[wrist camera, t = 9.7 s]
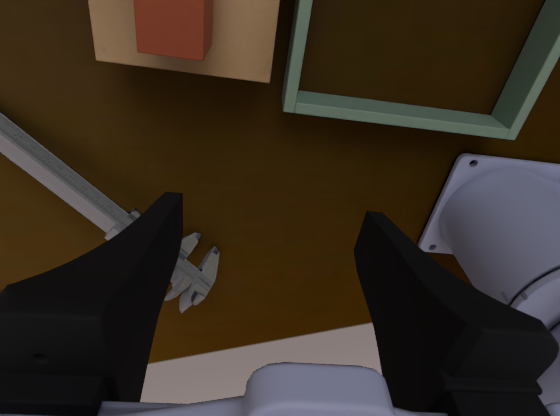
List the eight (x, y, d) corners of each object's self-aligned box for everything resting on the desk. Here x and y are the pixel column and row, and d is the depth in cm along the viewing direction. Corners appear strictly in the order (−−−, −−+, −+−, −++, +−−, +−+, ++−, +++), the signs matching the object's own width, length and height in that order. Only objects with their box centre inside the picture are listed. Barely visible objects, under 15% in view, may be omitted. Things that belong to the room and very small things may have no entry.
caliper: (221, 246, 27) (211, 314, 22) (212, 254, 28) (200, 323, 23) (-95, 40, 19) (-230, 74, 14) (-102, 56, 19) (-234, 95, 14)
